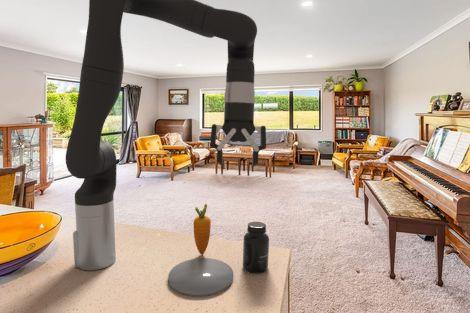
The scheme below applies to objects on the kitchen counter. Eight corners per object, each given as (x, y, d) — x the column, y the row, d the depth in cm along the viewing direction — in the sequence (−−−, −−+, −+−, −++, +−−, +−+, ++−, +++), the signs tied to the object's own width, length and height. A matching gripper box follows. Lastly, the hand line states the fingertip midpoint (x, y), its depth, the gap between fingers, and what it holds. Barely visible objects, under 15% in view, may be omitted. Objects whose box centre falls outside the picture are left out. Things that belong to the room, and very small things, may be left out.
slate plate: (161, 296, 64) (161, 292, 64) (175, 261, 80) (175, 257, 80) (233, 296, 64) (233, 292, 64) (233, 261, 80) (233, 258, 80)
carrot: (194, 259, 81) (194, 208, 79) (192, 252, 86) (192, 203, 84) (212, 257, 82) (212, 206, 80) (208, 250, 87) (209, 202, 85)
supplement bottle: (266, 275, 73) (268, 230, 72) (240, 272, 74) (241, 228, 73) (269, 262, 80) (270, 221, 78) (245, 260, 81) (245, 219, 80)
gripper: (210, 99, 69) (208, 166, 71) (269, 101, 69) (266, 168, 71) (212, 101, 76) (211, 162, 78) (265, 103, 77) (263, 163, 79)
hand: (237, 165), depth 75 cm, fingers open, 8 cm apart
